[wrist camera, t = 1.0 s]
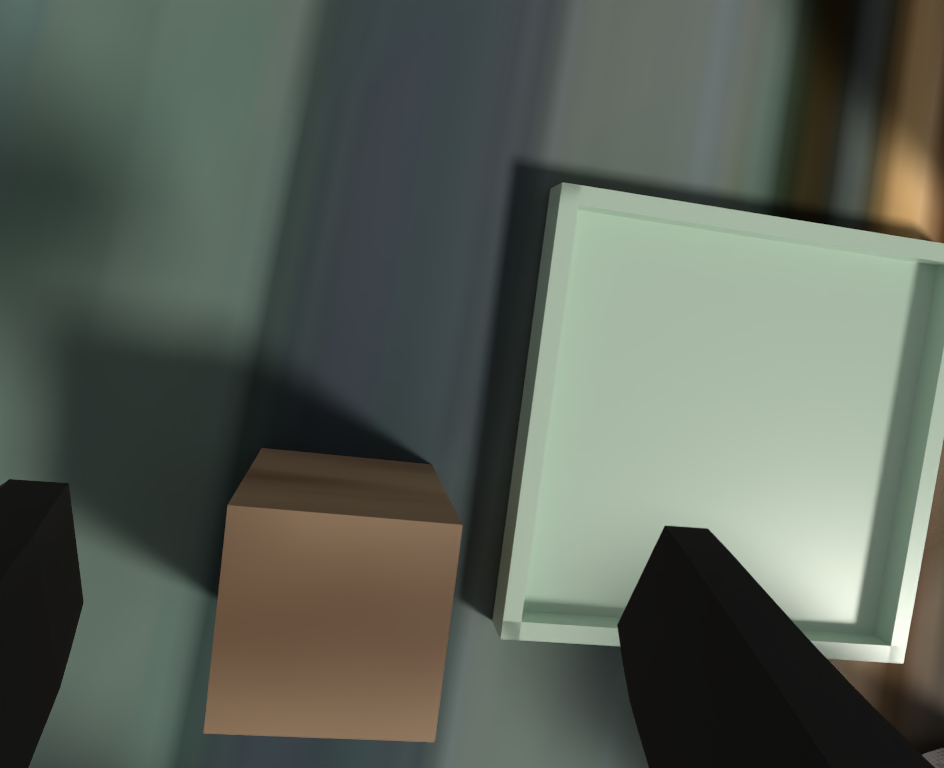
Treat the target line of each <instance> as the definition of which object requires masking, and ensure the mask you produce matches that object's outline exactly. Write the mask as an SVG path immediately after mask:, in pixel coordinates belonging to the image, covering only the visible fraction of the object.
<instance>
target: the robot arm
mask: <svg viewBox="0 0 944 768" xmlns="http://www.w3.org/2000/svg"><path fill="white" fill-rule="evenodd" d="M82 606H83V595H82V587H81V579H80V571H79V562H78V554H77V546H76V538H75V530H74V522H73V514H72V506H71V498H70V490H69V483H55V482H40V481H26V480H12V479H9V480H8V481H7V482H5V483H4V484H2V485H1V486H0V768H28V767H29V764H30V762H31V759H32V757H33V754H34V752H35V749H36V747H37V744H38V742H39V739H40V737H41V734H42V732H43V729H44V727H45V724H46V722H47V719H48V717H49V714H50V712H51V709H52V707H53V704H54V702H55V699H56V697H57V694H58V691H59V689H60V686H61V682H62V679H63V675H64V672H65V668H66V665H67V661H68V658H69V654H70V651H71V647H72V643H73V640H74V636H75V632H76V628H77V625H78V621H79V617H80V613H81V610H82ZM617 627H618V634H619V640H620V647H621V654H622V660H623V667H624V672H625V677H626V683H627V688H628V694H629V699H630V703H631V707H632V711H633V714H634V718H635V721H636V725H637V728H638V731H639V735H640V738H641V742H642V745H643V748H644V752H645V755H646V759H647V762H648V765H649V768H935V767H934V766H933V765H932V764H931V763H930V762H929V761H928V760H926V759H925V758H924V757H923V756H922V755H921V754H920V753H919V752H918V751H917V750H916V749H915V748H914V747H913V746H912V745H911V744H910V743H909V742H908V741H907V740H906V739H905V738H904V737H903V736H902V735H901V734H900V733H899V732H898V731H897V730H896V729H895V728H894V727H893V726H892V725H891V724H890V723H889V722H888V721H887V720H886V719H885V718H884V717H883V716H882V715H881V714H880V713H879V712H878V711H877V710H876V709H875V708H874V707H873V706H872V705H871V704H870V703H869V702H868V701H867V700H866V699H865V698H864V697H863V696H862V695H861V694H860V693H859V692H858V691H857V690H856V689H855V688H854V687H853V686H852V685H851V684H850V683H849V682H848V681H847V680H846V679H845V677H844V676H843V675H842V674H841V673H840V672H839V671H838V670H837V669H836V668H835V667H834V666H833V665H832V664H831V663H830V662H829V661H828V659H827V658H826V657H825V656H824V655H823V654H822V653H821V652H820V651H819V650H818V649H817V648H816V646H815V645H814V644H813V643H812V642H811V641H810V640H809V639H808V638H807V637H806V636H805V635H804V633H803V632H802V631H801V630H800V629H799V628H798V627H797V626H796V625H795V624H794V622H793V621H792V620H791V619H790V618H789V617H788V616H787V615H786V614H785V612H784V611H783V610H782V609H781V608H780V607H779V606H778V605H777V604H776V602H775V601H774V600H773V599H772V598H771V597H770V596H769V595H768V594H767V592H766V591H765V590H764V589H763V588H762V587H761V586H760V585H759V583H758V582H757V581H756V580H755V579H754V578H753V577H752V576H751V575H750V573H749V572H748V571H747V570H746V569H745V568H744V567H743V566H742V565H741V563H740V562H739V561H738V560H737V559H736V558H735V557H734V556H733V555H732V554H731V552H730V551H729V550H728V549H727V548H726V547H725V546H724V545H723V544H722V543H721V542H720V541H719V540H718V538H717V537H716V536H715V535H714V534H713V533H712V532H711V531H710V530H709V529H707V528H693V527H679V526H664V528H663V530H662V532H661V535H660V537H659V539H658V541H657V543H656V545H655V547H654V549H653V551H652V553H651V555H650V558H649V560H648V562H647V564H646V566H645V568H644V570H643V572H642V574H641V576H640V578H639V581H638V583H637V585H636V587H635V589H634V591H633V593H632V595H631V597H630V599H629V601H628V604H627V606H626V608H625V610H624V612H623V614H622V616H621V618H620V620H619V622H618V624H617Z"/></svg>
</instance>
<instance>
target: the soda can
mask: <svg viewBox="0 0 944 768" xmlns="http://www.w3.org/2000/svg"><path fill="white" fill-rule="evenodd" d="M922 756H923V757H924V758H925V759H926V760H928V761H929V762H930V763H931V764H932V765H933V766H934V767H935V768H944V748H940V749H937V750H934V751H931V752H927V753H924V754H922Z"/></svg>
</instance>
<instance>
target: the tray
mask: <svg viewBox="0 0 944 768" xmlns="http://www.w3.org/2000/svg"><path fill="white" fill-rule="evenodd" d="M943 439H944V243H937V242H931V241H925V240H919V239H912V238H906V237H900V236H894V235H888V234H881V233H875V232H869V231H863V230H857V229H850V228H844V227H838V226H832V225H825V224H819V223H813V222H807V221H801V220H794V219H788V218H782V217H776V216H770V215H763V214H757V213H751V212H745V211H738V210H732V209H726V208H720V207H714V206H707V205H701V204H695V203H689V202H683V201H676V200H670V199H664V198H658V197H652V196H645V195H639V194H633V193H627V192H620V191H614V190H608V189H602V188H596V187H589V186H583V185H577V184H571V183H565V182H562V183H560V184H558V185H556V186H555V187H553V188H551V189H550V195H549V202H548V210H547V217H546V225H545V232H544V240H543V247H542V255H541V262H540V270H539V277H538V284H537V292H536V299H535V307H534V314H533V322H532V329H531V337H530V344H529V352H528V359H527V367H526V374H525V381H524V389H523V396H522V404H521V411H520V419H519V426H518V434H517V441H516V449H515V456H514V464H513V471H512V479H511V486H510V493H509V501H508V508H507V516H506V523H505V531H504V538H503V546H502V553H501V561H500V568H499V576H498V583H497V590H496V598H495V605H494V613H493V620H492V621H493V624H494V626H495V628H496V630H497V632H498V635H499V637H500V639H507V640H524V641H540V642H557V643H573V644H589V645H606V646H620V640H619V634H618V627H617V624H618V622H619V620H620V618H621V616H622V614H623V612H624V610H625V608H626V606H627V604H628V601H629V599H630V597H631V595H632V593H633V591H634V589H635V587H636V585H637V583H638V581H639V578H640V576H641V574H642V572H643V570H644V568H645V566H646V564H647V562H648V560H649V558H650V555H651V553H652V551H653V549H654V547H655V545H656V543H657V541H658V539H659V537H660V535H661V532H662V530H663V528H664V526H679V527H693V528H707V529H709V530H710V531H711V532H712V533H713V534H714V535H715V536H716V537H717V538H718V540H719V541H720V542H721V543H722V544H723V545H724V546H725V547H726V548H727V549H728V550H729V551H730V552H731V554H732V555H733V556H734V557H735V558H736V559H737V560H738V561H739V562H740V563H741V565H742V566H743V567H744V568H745V569H746V570H747V571H748V572H749V573H750V575H751V576H752V577H753V578H754V579H755V580H756V581H757V582H758V583H759V585H760V586H761V587H762V588H763V589H764V590H765V591H766V592H767V594H768V595H769V596H770V597H771V598H772V599H773V600H774V601H775V602H776V604H777V605H778V606H779V607H780V608H781V609H782V610H783V611H784V612H785V614H786V615H787V616H788V617H789V618H790V619H791V620H792V621H793V622H794V624H795V625H796V626H797V627H798V628H799V629H800V630H801V631H802V632H803V633H804V635H805V636H806V637H807V638H808V639H809V640H810V641H811V642H812V643H813V644H814V645H815V646H816V648H817V649H818V650H819V651H820V652H821V653H822V654H823V655H824V656H825V657H826V658H827V659H837V660H853V661H869V662H886V663H902V664H903V663H904V657H905V651H906V646H907V640H908V635H909V629H910V623H911V618H912V612H913V607H914V601H915V595H916V590H917V584H918V579H919V573H920V567H921V562H922V556H923V551H924V545H925V539H926V534H927V528H928V523H929V517H930V511H931V506H932V500H933V495H934V489H935V483H936V478H937V472H938V467H939V461H940V455H941V450H942V444H943Z"/></svg>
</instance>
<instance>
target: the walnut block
mask: <svg viewBox="0 0 944 768" xmlns="http://www.w3.org/2000/svg"><path fill="white" fill-rule="evenodd" d="M462 527H463V524H462V522H461V520H460V519H459V517H458V515H457V513H456V511H455V509H454V507H453V505H452V503H451V501H450V499H449V497H448V495H447V493H446V491H445V490H444V488H443V486H442V484H441V482H440V480H439V478H438V476H437V474H436V472H435V470H434V468H433V466H432V464H423V463H413V462H402V461H392V460H382V459H371V458H361V457H351V456H340V455H330V454H320V453H309V452H299V451H289V450H278V449H268V448H261V450H260V452H259V453H258V455H257V457H256V458H255V460H254V462H253V463H252V465H251V467H250V468H249V470H248V472H247V473H246V475H245V477H244V478H243V480H242V482H241V483H240V485H239V487H238V488H237V490H236V492H235V493H234V495H233V497H232V498H231V500H230V502H229V503H228V505H227V515H226V524H225V534H224V543H223V553H222V562H221V572H220V582H219V591H218V601H217V610H216V620H215V629H214V639H213V649H212V658H211V668H210V677H209V687H208V696H207V706H206V715H205V725H204V733H206V734H232V735H258V736H285V737H311V738H337V739H364V740H390V741H416V742H435V736H436V728H437V720H438V713H439V705H440V697H441V690H442V682H443V674H444V666H445V659H446V651H447V643H448V635H449V628H450V620H451V612H452V605H453V597H454V589H455V581H456V574H457V566H458V558H459V551H460V543H461V535H462Z"/></svg>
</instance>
